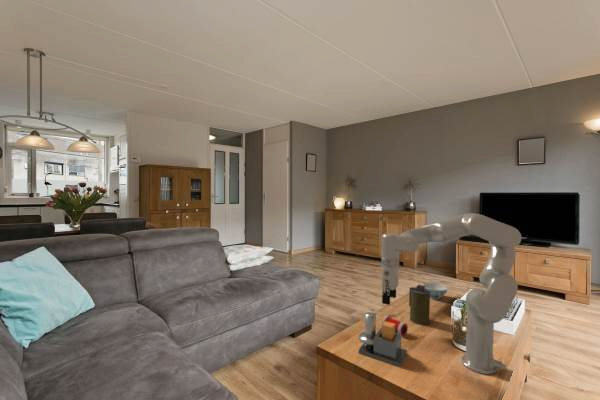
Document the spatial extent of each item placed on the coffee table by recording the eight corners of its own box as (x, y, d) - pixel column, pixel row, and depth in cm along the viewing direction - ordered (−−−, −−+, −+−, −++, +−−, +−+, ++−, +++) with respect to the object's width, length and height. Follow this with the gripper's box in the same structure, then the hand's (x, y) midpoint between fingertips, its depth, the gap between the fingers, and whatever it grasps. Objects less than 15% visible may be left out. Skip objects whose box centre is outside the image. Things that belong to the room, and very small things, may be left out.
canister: (432, 320, 162) (433, 285, 161) (425, 326, 154) (426, 289, 154) (413, 314, 169) (414, 281, 169) (405, 320, 162) (406, 285, 161)
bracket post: (406, 353, 128) (407, 318, 128) (400, 366, 118) (401, 328, 118) (363, 340, 139) (364, 307, 138) (354, 351, 129) (355, 316, 128)
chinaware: (429, 292, 209) (429, 281, 209) (450, 298, 198) (450, 287, 198) (418, 296, 200) (419, 285, 199) (440, 303, 188) (441, 291, 188)
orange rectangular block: (394, 350, 128) (395, 323, 127) (391, 355, 124) (392, 327, 124) (384, 347, 130) (385, 321, 130) (381, 351, 126) (382, 324, 126)
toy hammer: (378, 347, 133) (379, 334, 133) (359, 337, 142) (360, 324, 142) (408, 334, 146) (408, 322, 146) (388, 325, 156) (389, 313, 156)
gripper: (393, 267, 117) (392, 309, 117) (403, 259, 131) (402, 296, 131) (375, 264, 121) (374, 305, 121) (387, 257, 135) (386, 293, 136)
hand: (389, 300), depth 126 cm, fingers open, 9 cm apart
